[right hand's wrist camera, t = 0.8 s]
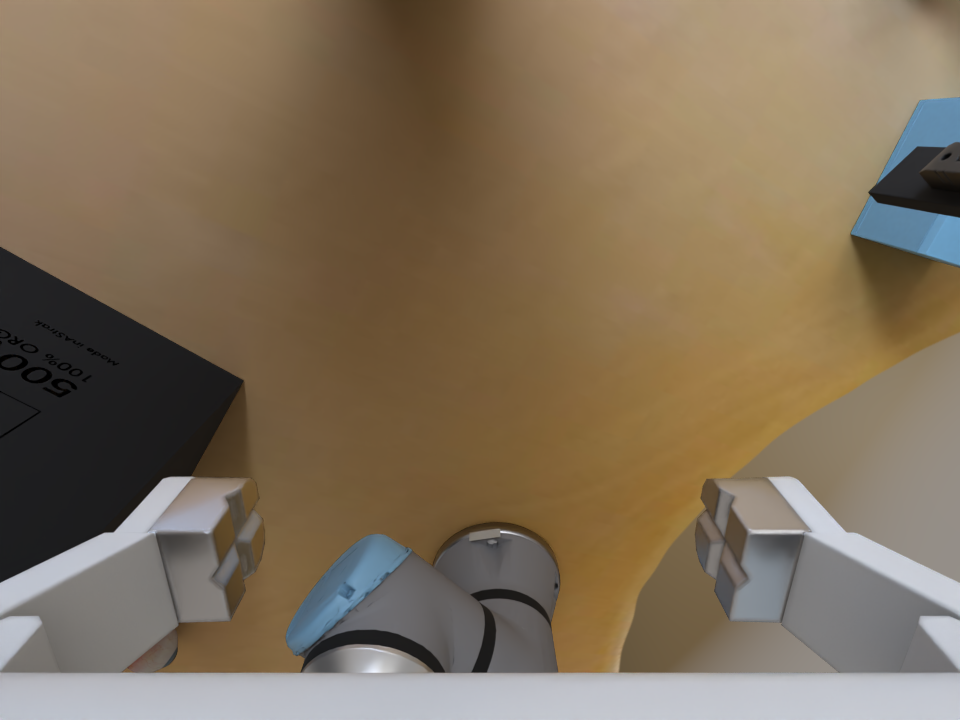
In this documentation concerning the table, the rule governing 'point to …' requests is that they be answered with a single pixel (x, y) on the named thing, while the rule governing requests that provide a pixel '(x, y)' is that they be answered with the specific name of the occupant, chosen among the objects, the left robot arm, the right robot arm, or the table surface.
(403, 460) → the table surface
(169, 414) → the dark boxy piece
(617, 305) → the table surface
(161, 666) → the eyeball
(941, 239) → the lid
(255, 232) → the table surface
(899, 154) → the chest
